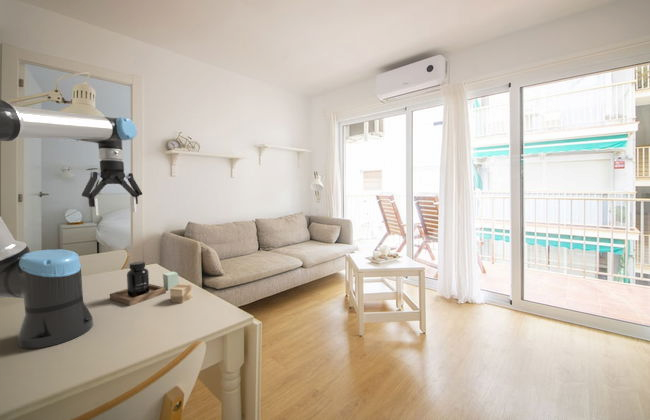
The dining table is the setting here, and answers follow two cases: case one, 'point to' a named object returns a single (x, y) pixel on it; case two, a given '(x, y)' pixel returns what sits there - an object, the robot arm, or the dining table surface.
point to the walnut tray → (125, 299)
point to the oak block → (181, 293)
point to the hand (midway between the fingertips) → (115, 213)
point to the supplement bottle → (137, 279)
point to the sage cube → (170, 280)
